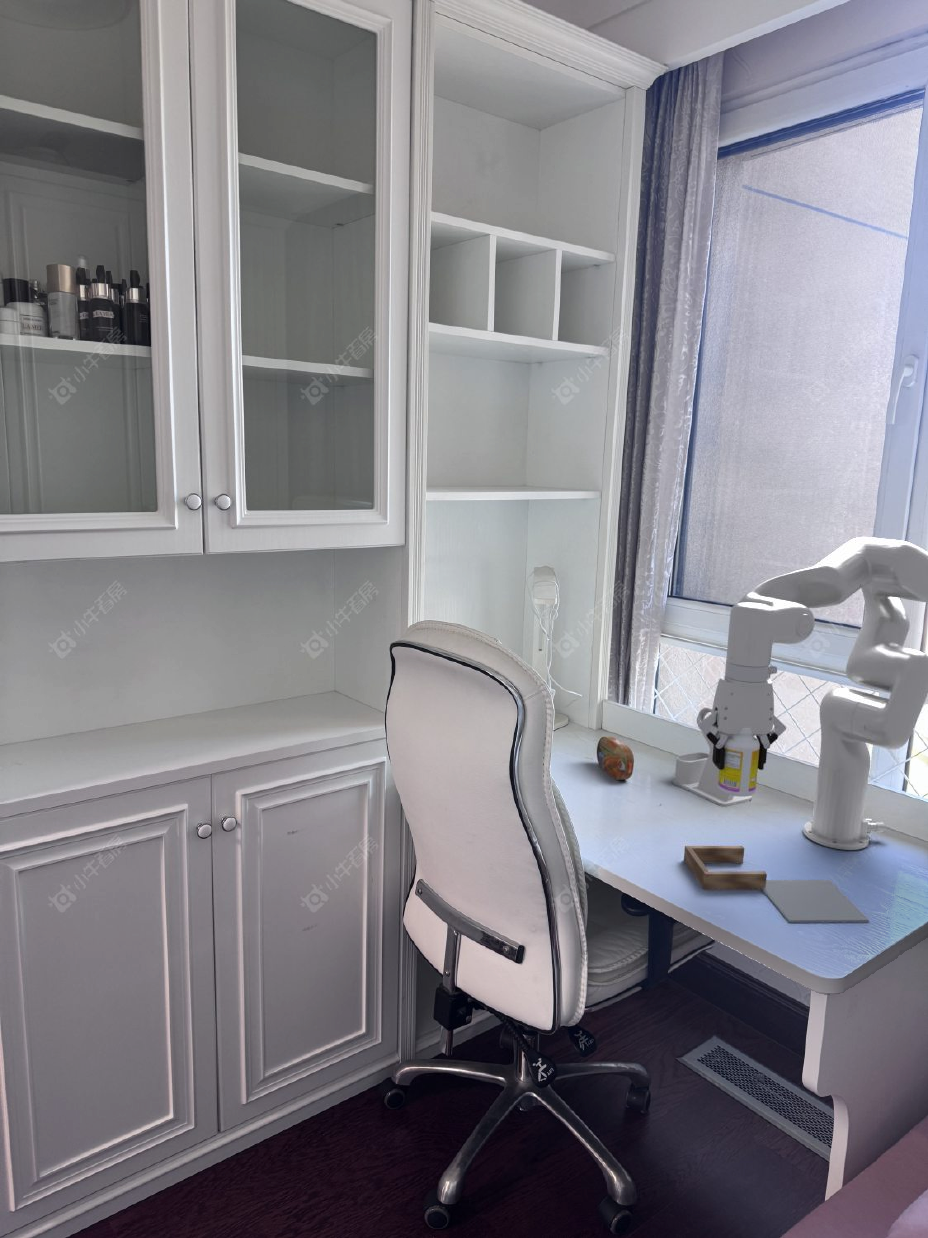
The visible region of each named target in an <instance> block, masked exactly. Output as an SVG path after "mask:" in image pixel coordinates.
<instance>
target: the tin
mask: <svg viewBox="0 0 928 1238" xmlns="http://www.w3.org/2000/svg"><path fill="white" fill-rule="evenodd" d="M596 758H597V759H596V760H597V764H598V766H599V768H600V769H601V770H603V772H605V773H606V774H608V775H609V776H610V777H612V778H613V779H614V780H616V781H622V780H623V781H624V780H629V779H630V778H631V777H632V775H633V771H634V767H635V766H634V763H635V759H634V758H635V757H634V754H633V751H632V749H631V748H630V747H629V746H628V745H627V744H625V743H623V742H621V741H620V740H618V739H617V738H616V737H614V736H602V737H601V738H599V741H598V743H597V747H596Z"/></svg>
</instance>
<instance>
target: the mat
mask: <svg viewBox="0 0 928 1238" xmlns="http://www.w3.org/2000/svg"><path fill="white" fill-rule="evenodd" d="M761 891H762V892H763V893H764V894H765V895H766V897H767V898H768V899H769V900H770V902H771V903H772V904H773V905H774V907H775V908H776V909H777V910H778V911H779V912H780V913H781V915H782V916H783V917H784V919H785V920H786V921H787V922H788V923H869V922H870V919H869V918H868V917H867V916H866V915H865V914H864V913H863V912H862V911H861V910H860V909H859V908H858V907H857V906H856V905H855V904H854V903H853V902H852V901H851V900H850V899H849V898H848V897H847V896H846V895H845V894H844V893H843V892H842V891H841V890H840V889H838V887H837V886H835V885H834V883H833V882H832V881H831V880H830V879H766V887H762V889H761Z"/></svg>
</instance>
